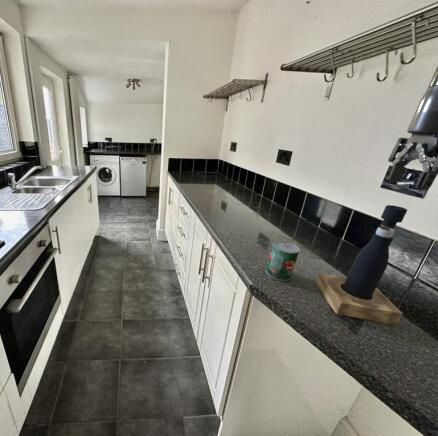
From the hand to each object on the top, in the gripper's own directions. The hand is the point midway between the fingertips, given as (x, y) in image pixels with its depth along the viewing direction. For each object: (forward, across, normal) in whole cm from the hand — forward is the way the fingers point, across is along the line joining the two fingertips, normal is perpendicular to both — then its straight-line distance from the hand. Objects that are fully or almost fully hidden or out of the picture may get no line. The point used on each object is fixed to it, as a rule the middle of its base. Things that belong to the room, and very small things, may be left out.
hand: (406, 184), depth 55 cm
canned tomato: (+36, +9, +18) cm, 41 cm away
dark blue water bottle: (+36, 0, 0) cm, 36 cm away
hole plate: (+36, 0, 0) cm, 36 cm away
